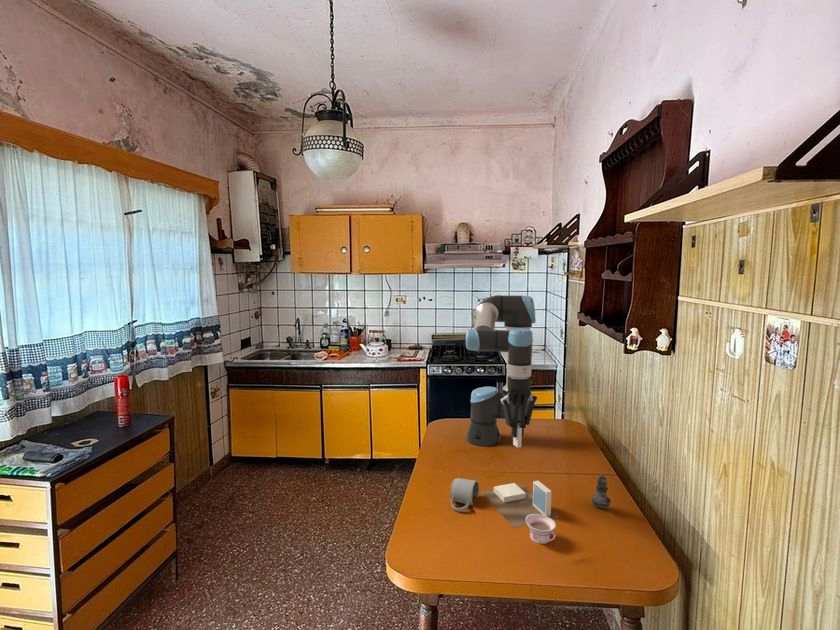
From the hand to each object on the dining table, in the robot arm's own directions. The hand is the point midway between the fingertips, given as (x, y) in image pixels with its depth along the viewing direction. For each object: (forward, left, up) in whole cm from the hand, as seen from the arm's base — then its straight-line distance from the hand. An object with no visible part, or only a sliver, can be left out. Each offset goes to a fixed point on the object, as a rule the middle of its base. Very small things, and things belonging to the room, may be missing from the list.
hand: (517, 445), depth 143 cm
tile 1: (0, +2, -16) cm, 16 cm away
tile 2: (+11, +2, -17) cm, 20 cm away
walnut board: (+6, -3, -18) cm, 19 cm away
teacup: (+23, -6, -19) cm, 30 cm away
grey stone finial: (+15, +22, -18) cm, 32 cm away
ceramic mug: (-2, -18, -19) cm, 26 cm away
